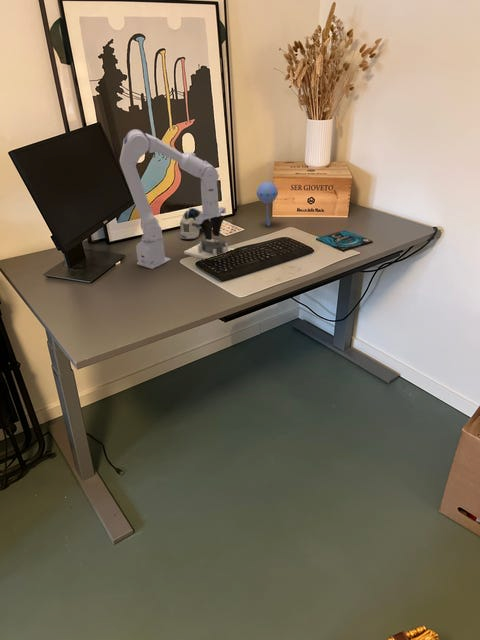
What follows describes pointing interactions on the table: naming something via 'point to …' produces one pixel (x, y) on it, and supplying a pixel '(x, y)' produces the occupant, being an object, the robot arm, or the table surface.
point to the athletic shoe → (190, 224)
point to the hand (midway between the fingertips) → (212, 237)
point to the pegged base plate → (198, 252)
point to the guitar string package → (344, 240)
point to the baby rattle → (267, 195)
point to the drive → (212, 245)
